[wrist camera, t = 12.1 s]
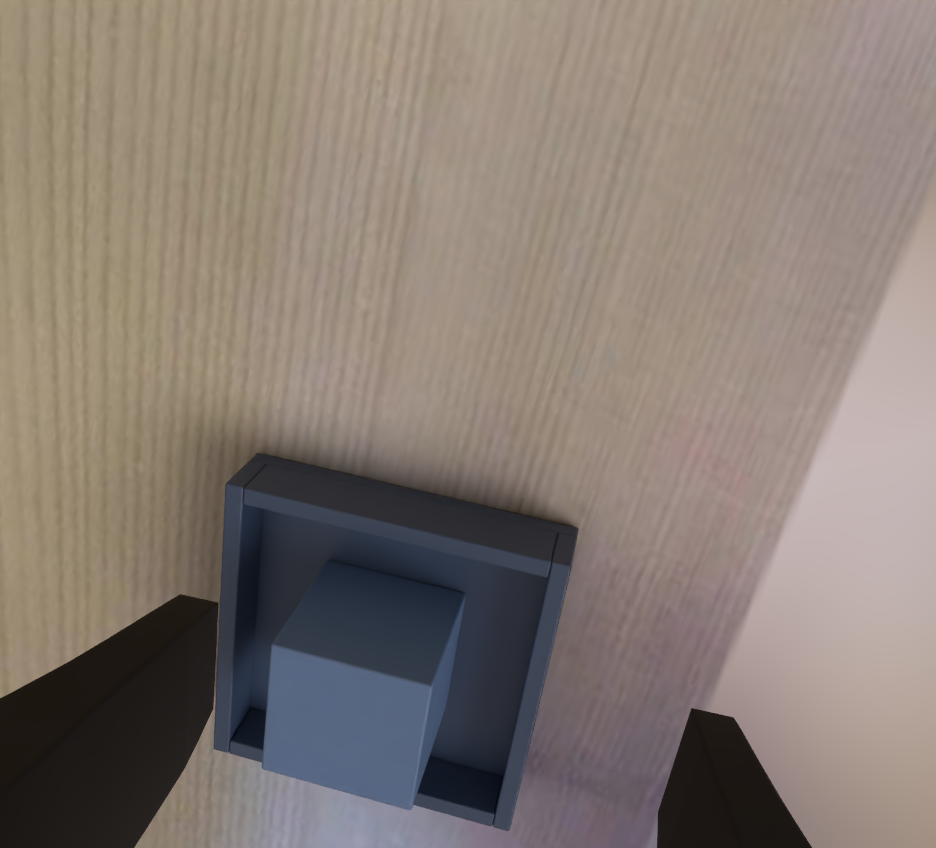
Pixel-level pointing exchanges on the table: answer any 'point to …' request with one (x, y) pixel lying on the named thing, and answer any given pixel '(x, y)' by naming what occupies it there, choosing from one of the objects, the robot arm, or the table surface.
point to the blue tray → (410, 557)
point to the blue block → (361, 683)
